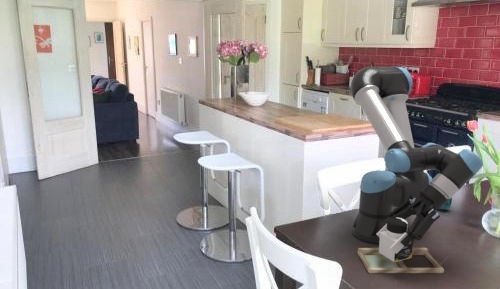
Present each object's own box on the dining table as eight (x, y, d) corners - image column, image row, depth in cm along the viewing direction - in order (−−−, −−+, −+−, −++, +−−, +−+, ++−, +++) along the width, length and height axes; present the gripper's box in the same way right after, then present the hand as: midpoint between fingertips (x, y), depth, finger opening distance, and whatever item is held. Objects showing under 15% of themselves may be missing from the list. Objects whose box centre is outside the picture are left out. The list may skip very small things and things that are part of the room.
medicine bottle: (394, 263, 121) (397, 226, 118) (378, 252, 127) (380, 217, 124) (412, 258, 123) (415, 222, 121) (395, 248, 130) (398, 213, 127)
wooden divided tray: (368, 273, 121) (369, 267, 120) (357, 253, 133) (357, 247, 132) (443, 272, 121) (444, 267, 121) (425, 253, 133) (426, 247, 133)
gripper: (468, 212, 113) (411, 268, 114) (425, 188, 133) (377, 235, 135) (453, 196, 111) (395, 253, 112) (412, 173, 131) (363, 222, 133)
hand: (385, 243), depth 124 cm, fingers closed on medicine bottle, 8 cm apart
